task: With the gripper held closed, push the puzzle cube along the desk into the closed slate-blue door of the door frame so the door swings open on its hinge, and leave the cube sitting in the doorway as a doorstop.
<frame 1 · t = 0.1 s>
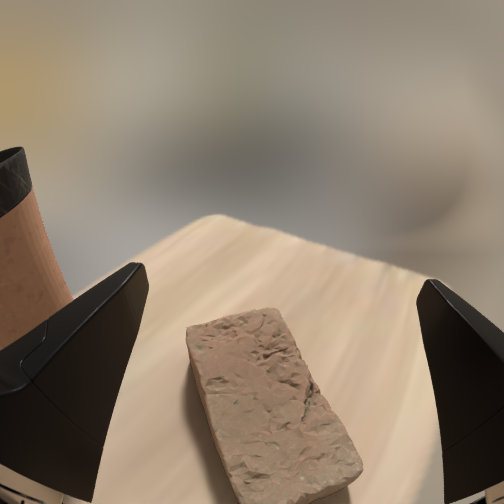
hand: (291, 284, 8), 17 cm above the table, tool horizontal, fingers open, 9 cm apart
brick: (262, 420, 20), on the table
travel mug: (76, 384, 21), on the table
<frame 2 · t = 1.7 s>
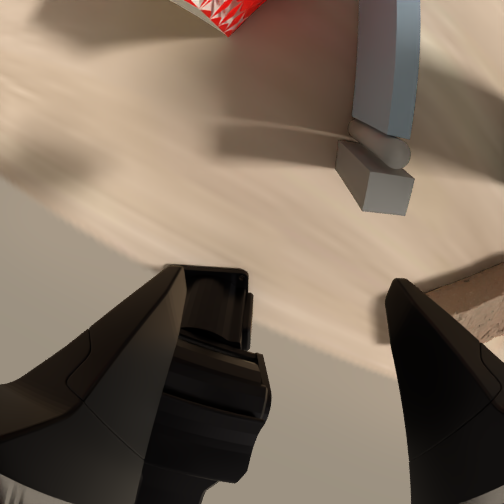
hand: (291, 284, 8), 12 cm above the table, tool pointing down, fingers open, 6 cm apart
door frame: (365, 29, 13), on the table
door: (370, 9, 10), point 3 cm above the table, hinge at 0.0°
brick: (469, 297, 25), on the table
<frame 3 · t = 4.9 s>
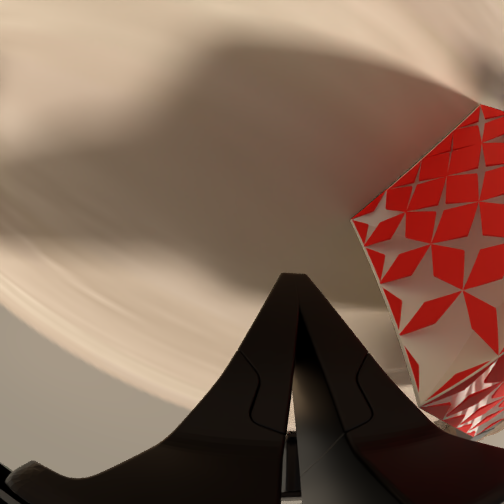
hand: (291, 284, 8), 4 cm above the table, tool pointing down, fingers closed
puzzle cube: (457, 221, 11), on the table, touching gripper
brick: (492, 404, 25), on the table
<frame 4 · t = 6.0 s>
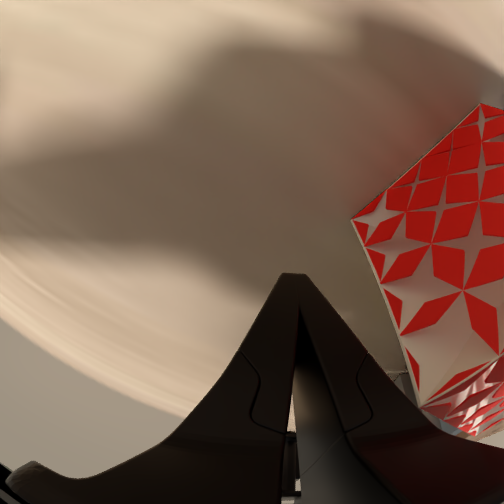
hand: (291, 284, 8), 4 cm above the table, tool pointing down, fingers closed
door frame: (466, 291, 13), on the table
puzzle cube: (457, 221, 11), on the table, touching door, gripper
brick: (469, 411, 25), on the table
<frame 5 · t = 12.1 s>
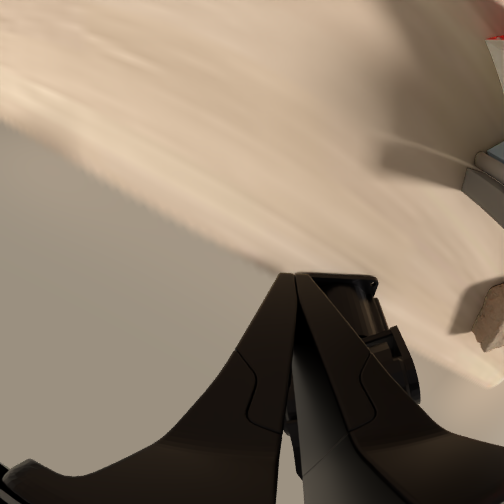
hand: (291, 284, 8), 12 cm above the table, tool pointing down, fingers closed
door frame: (492, 79, 12), on the table
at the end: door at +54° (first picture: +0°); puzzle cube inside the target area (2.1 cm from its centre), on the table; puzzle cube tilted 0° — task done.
